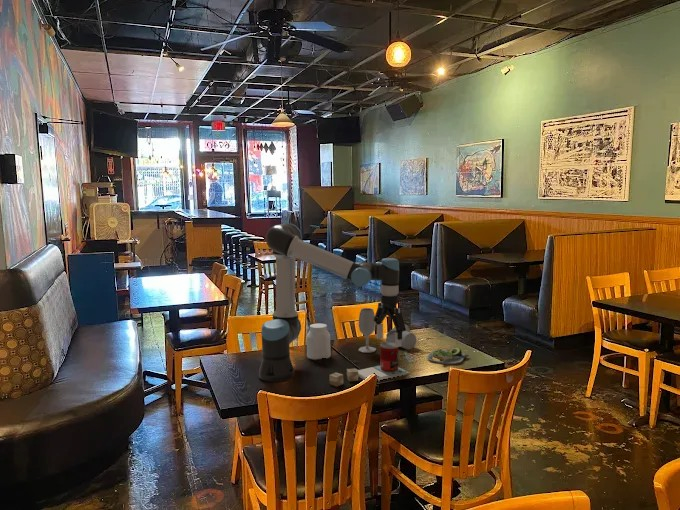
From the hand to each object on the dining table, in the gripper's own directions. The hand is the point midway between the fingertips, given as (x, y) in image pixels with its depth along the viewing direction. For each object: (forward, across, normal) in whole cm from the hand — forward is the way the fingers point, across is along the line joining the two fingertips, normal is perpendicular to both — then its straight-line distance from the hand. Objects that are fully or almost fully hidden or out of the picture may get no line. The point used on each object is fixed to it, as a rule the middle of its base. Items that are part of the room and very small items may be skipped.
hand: (388, 342), depth 221 cm
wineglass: (+14, +30, -9) cm, 34 cm away
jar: (+14, +36, +15) cm, 41 cm away
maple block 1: (+14, 0, +26) cm, 30 cm away
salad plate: (+13, 0, -34) cm, 36 cm away
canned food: (+12, 0, 0) cm, 12 cm away
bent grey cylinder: (+14, +30, -30) cm, 45 cm away
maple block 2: (+14, 0, +18) cm, 23 cm away
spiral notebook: (+13, 0, +4) cm, 14 cm away
